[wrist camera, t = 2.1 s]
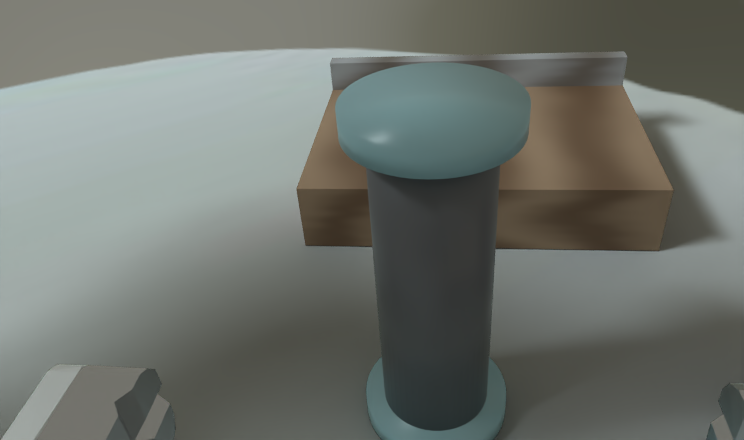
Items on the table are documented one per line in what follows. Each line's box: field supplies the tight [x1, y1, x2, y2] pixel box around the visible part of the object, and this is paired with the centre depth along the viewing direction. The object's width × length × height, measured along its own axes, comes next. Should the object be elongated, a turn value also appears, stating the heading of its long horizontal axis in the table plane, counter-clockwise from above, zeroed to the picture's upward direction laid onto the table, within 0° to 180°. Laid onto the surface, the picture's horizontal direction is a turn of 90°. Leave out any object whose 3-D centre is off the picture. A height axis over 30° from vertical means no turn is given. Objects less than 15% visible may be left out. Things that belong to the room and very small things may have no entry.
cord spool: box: [335, 62, 531, 440], centre depth 24 cm, size 6×6×14 cm
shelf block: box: [297, 52, 674, 251], centre depth 41 cm, size 20×14×6 cm
